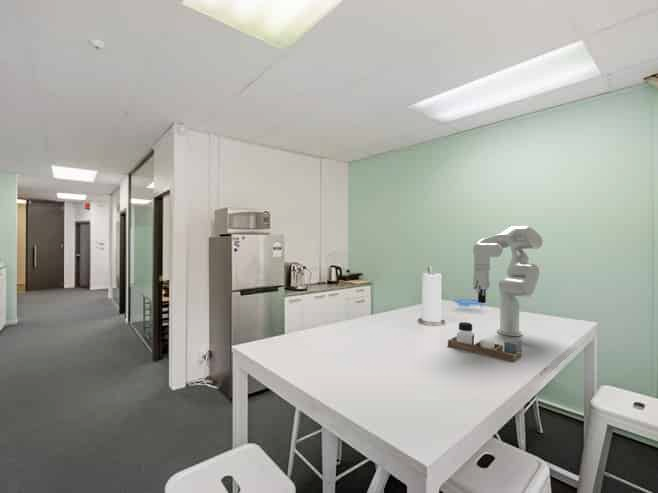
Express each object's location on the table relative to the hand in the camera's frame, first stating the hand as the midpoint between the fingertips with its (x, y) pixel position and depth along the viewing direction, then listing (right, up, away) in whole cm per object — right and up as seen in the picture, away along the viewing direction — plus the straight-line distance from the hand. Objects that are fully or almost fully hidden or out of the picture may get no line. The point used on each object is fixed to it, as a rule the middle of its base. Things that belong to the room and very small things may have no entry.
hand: (481, 302), depth 164 cm
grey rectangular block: (+8, -21, -14) cm, 26 cm away
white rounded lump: (-4, -21, -14) cm, 26 cm away
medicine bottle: (-12, -21, -7) cm, 25 cm away
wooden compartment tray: (-6, -21, -13) cm, 25 cm away
